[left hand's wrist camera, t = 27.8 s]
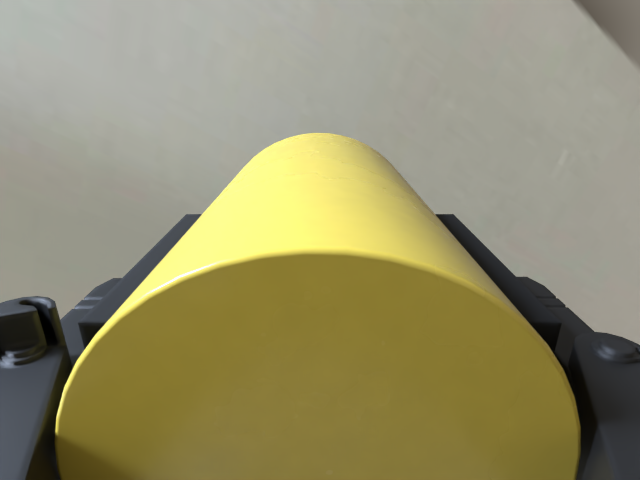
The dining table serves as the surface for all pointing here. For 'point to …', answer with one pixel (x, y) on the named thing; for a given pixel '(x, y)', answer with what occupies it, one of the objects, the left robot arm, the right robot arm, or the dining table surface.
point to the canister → (317, 345)
